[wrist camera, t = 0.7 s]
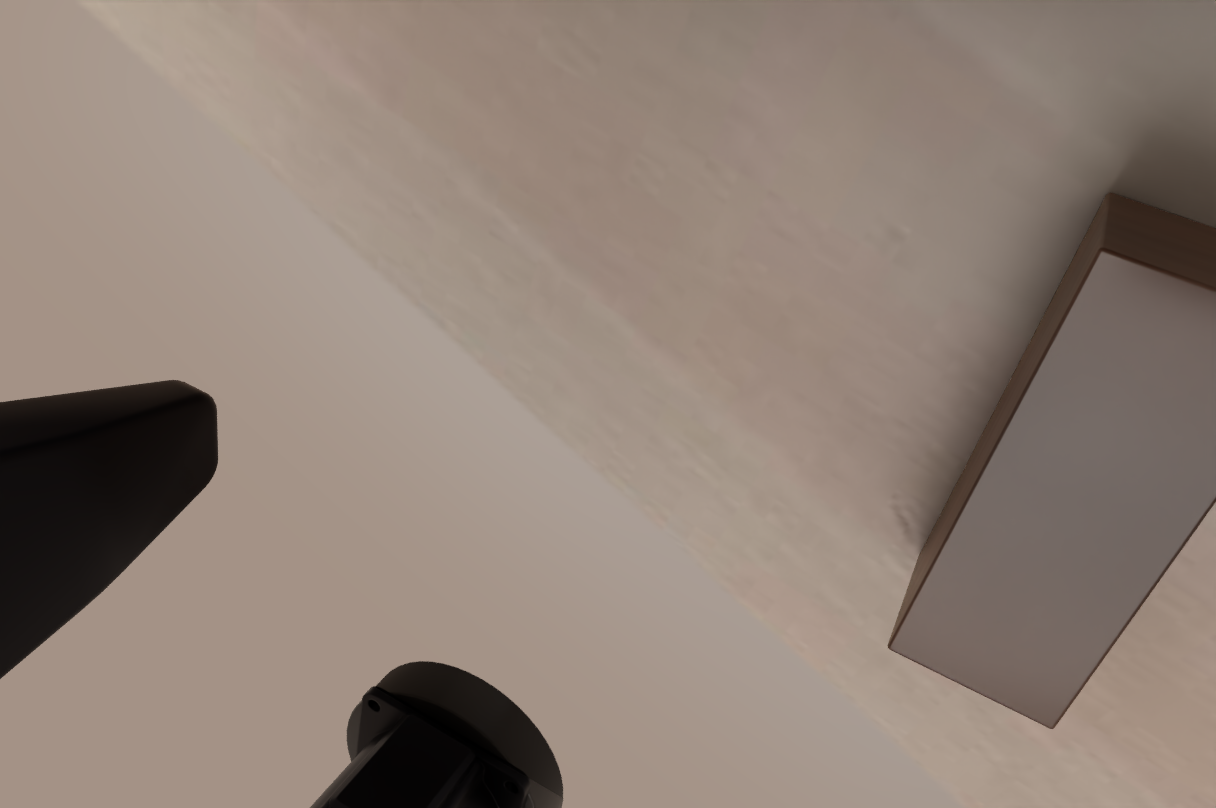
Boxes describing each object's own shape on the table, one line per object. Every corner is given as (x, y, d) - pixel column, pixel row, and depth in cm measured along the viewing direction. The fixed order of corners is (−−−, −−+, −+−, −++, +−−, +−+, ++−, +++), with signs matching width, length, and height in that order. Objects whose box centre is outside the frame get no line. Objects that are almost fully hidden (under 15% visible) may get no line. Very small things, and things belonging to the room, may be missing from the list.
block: (1065, 626, 19) (1053, 731, 17) (918, 557, 20) (886, 649, 18) (1309, 259, 15) (1338, 332, 13) (1108, 190, 16) (1099, 246, 13)
